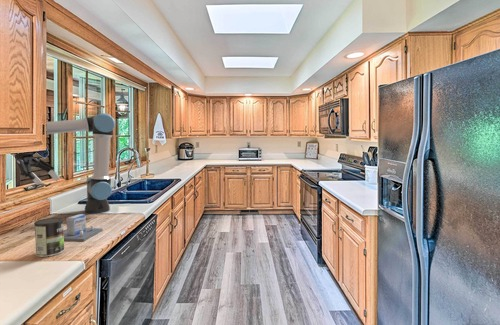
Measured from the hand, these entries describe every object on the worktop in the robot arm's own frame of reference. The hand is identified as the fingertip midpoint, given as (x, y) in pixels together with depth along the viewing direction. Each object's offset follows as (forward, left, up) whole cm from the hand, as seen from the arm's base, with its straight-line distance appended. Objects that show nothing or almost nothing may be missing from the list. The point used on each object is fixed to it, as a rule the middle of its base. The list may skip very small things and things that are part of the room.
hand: (49, 181), depth 158 cm
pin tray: (+11, +22, -26) cm, 35 cm away
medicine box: (+11, +21, -25) cm, 34 cm away
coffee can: (+33, +25, -26) cm, 49 cm away
